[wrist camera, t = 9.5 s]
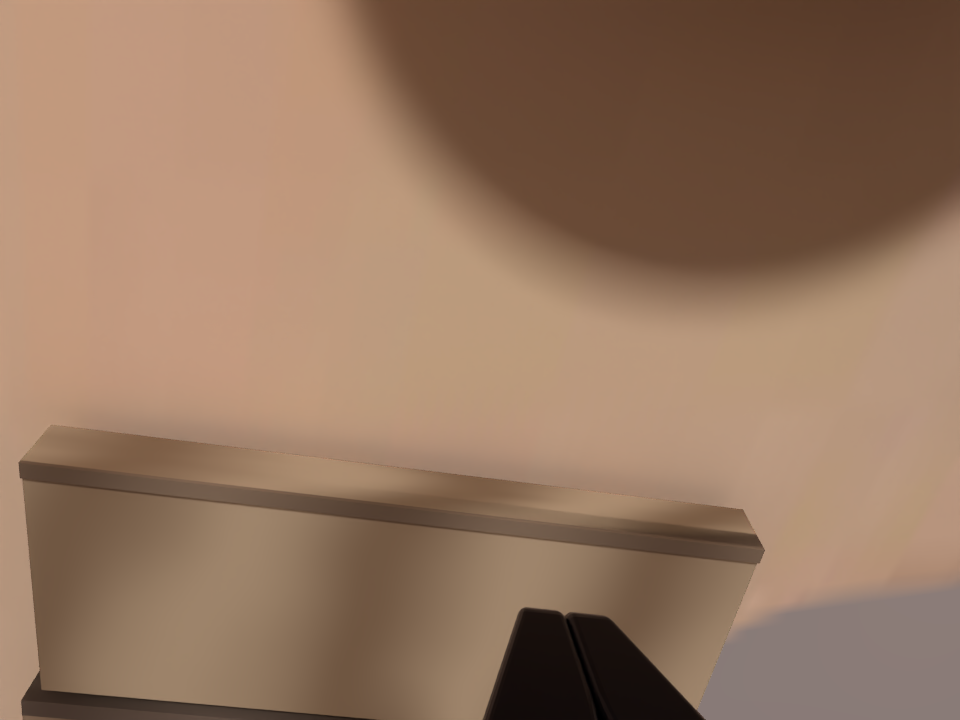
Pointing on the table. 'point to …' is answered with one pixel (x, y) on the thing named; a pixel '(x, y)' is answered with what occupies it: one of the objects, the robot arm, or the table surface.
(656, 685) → the robot arm
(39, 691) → the laid board
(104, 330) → the table surface
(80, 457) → the plank
